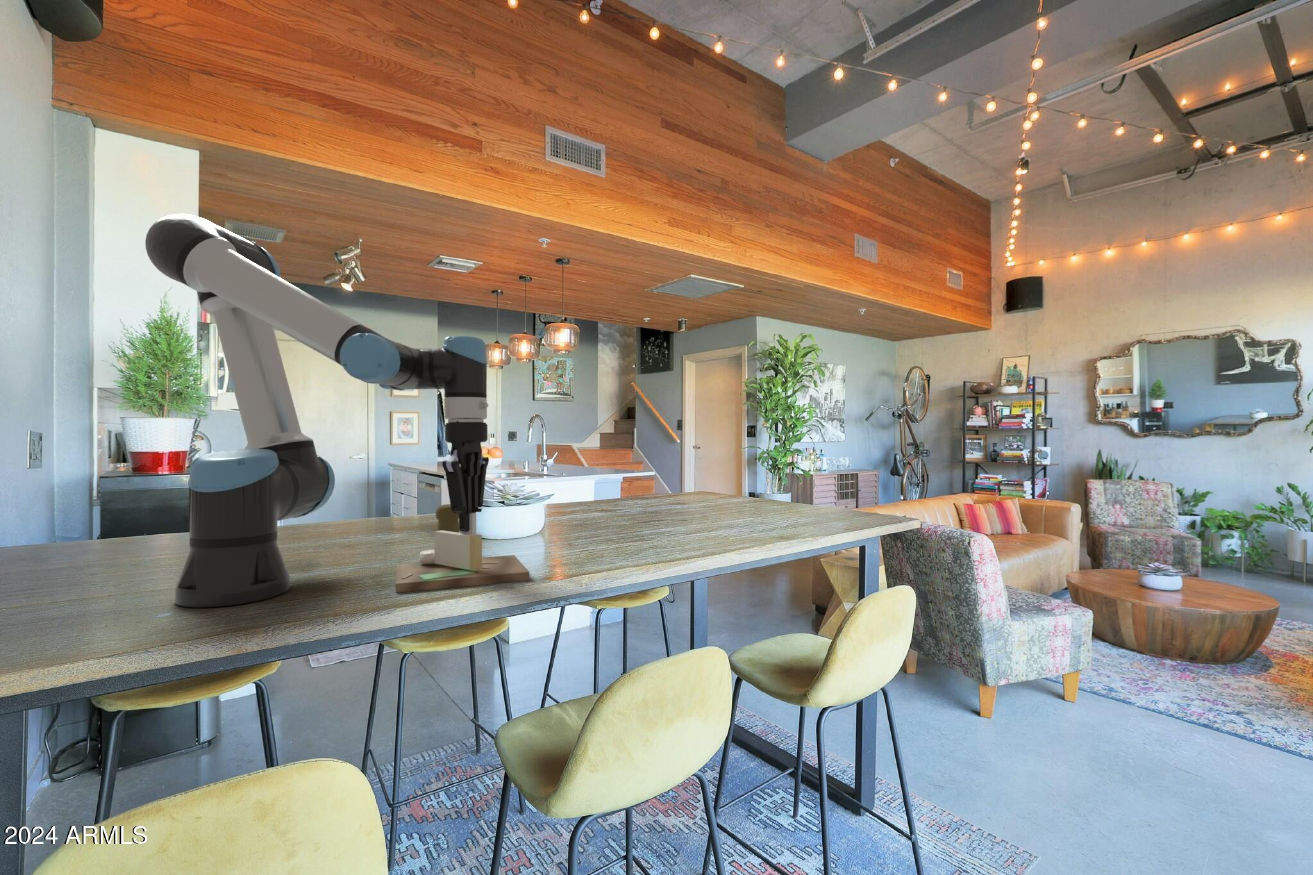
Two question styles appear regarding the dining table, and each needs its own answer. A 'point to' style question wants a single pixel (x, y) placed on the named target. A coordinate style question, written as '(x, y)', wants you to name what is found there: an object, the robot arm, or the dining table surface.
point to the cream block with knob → (455, 550)
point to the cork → (447, 519)
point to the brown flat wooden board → (459, 574)
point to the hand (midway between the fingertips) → (468, 547)
